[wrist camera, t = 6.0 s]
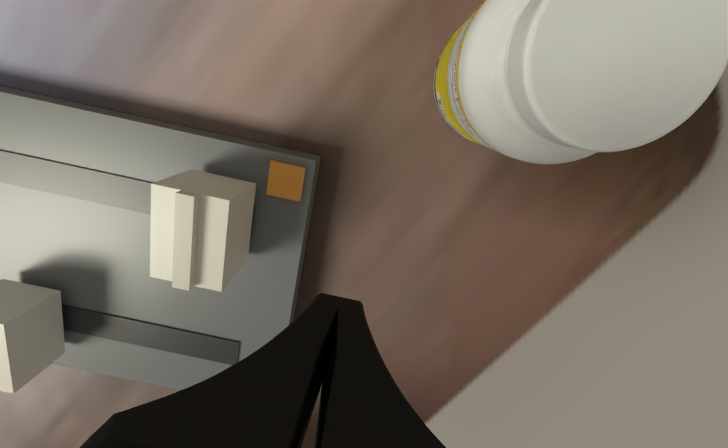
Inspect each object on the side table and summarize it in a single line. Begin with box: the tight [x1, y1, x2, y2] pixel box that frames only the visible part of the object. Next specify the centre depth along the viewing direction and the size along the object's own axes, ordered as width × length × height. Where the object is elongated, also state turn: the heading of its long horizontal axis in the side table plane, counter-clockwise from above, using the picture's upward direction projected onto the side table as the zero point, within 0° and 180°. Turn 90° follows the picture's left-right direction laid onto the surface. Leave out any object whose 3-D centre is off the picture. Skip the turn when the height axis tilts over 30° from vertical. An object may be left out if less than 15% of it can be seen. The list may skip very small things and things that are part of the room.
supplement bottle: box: [434, 0, 728, 164], centre depth 12 cm, size 5×5×10 cm
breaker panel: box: [0, 86, 321, 390], centre depth 19 cm, size 15×18×2 cm
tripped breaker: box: [150, 169, 256, 292], centre depth 16 cm, size 4×3×3 cm
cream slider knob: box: [0, 279, 65, 393], centre depth 18 cm, size 4×3×3 cm
